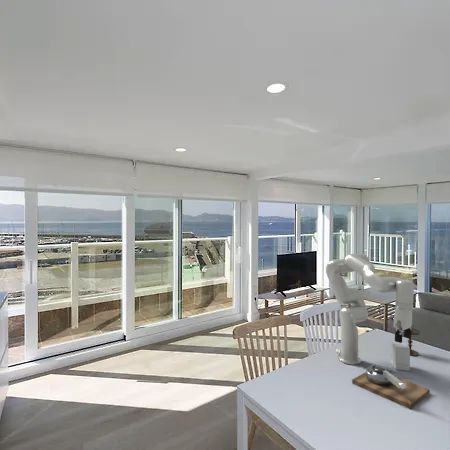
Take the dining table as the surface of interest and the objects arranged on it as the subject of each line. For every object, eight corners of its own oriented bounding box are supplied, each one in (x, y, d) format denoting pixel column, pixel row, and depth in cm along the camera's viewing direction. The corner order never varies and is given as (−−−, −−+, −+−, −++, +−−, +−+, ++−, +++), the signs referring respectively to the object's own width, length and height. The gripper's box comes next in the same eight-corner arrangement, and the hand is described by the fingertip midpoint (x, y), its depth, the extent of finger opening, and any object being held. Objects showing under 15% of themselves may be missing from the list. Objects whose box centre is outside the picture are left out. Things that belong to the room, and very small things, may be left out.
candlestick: (424, 357, 185) (424, 299, 185) (406, 356, 185) (406, 299, 185) (413, 349, 196) (413, 295, 196) (396, 349, 196) (396, 295, 196)
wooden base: (352, 383, 153) (352, 379, 153) (373, 371, 166) (373, 367, 166) (410, 409, 132) (410, 404, 132) (429, 393, 144) (429, 388, 144)
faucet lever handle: (361, 374, 158) (361, 361, 158) (382, 373, 160) (382, 360, 160) (392, 400, 134) (392, 385, 134) (417, 398, 136) (417, 384, 136)
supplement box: (410, 371, 167) (410, 347, 167) (395, 369, 168) (395, 346, 168) (405, 365, 174) (405, 342, 174) (391, 363, 176) (391, 341, 176)
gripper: (403, 300, 158) (402, 333, 158) (387, 306, 147) (386, 341, 148) (420, 304, 152) (418, 338, 152) (404, 310, 141) (403, 346, 142)
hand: (402, 339), depth 150 cm, fingers open, 9 cm apart
